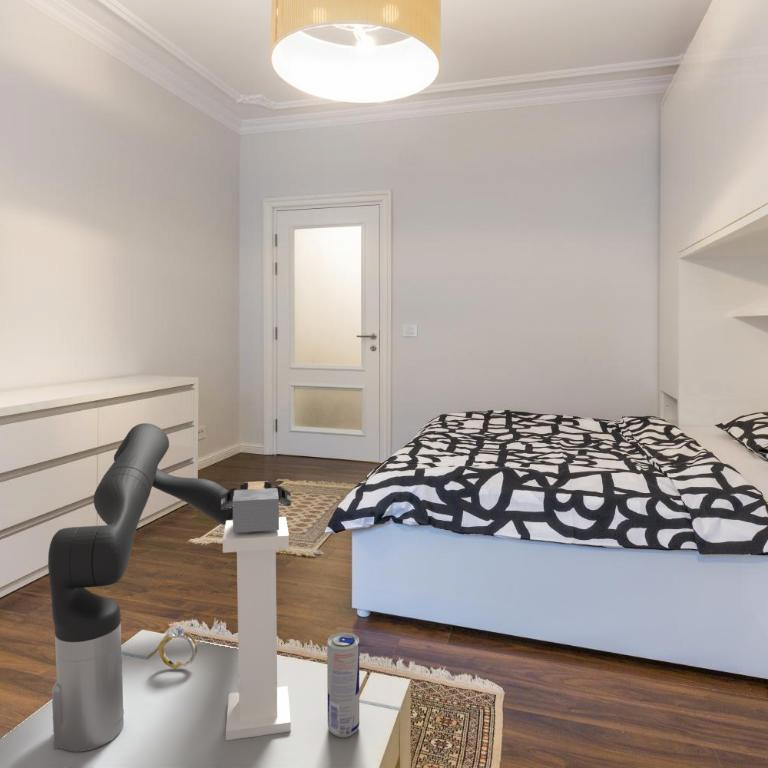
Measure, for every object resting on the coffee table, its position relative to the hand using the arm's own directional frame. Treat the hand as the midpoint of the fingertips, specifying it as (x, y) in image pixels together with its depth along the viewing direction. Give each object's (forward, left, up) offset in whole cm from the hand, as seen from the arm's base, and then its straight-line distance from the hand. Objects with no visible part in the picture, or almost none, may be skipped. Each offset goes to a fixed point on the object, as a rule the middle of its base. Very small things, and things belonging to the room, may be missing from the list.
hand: (256, 486), depth 102 cm
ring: (-15, +8, -37) cm, 41 cm away
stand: (0, -9, -37) cm, 38 cm away
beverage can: (+13, -15, -37) cm, 42 cm away
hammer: (0, -4, -4) cm, 6 cm away
